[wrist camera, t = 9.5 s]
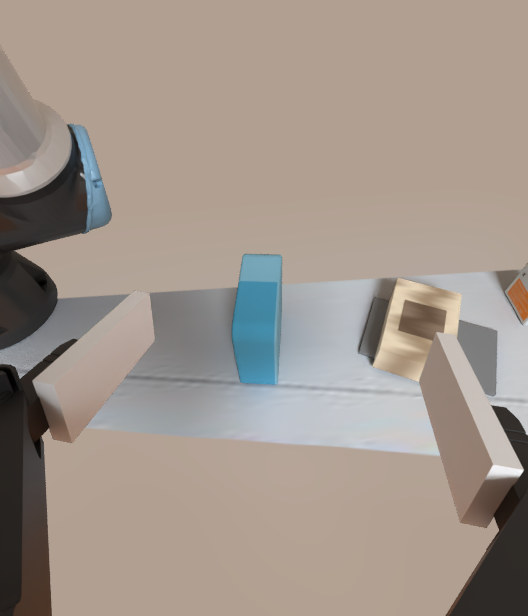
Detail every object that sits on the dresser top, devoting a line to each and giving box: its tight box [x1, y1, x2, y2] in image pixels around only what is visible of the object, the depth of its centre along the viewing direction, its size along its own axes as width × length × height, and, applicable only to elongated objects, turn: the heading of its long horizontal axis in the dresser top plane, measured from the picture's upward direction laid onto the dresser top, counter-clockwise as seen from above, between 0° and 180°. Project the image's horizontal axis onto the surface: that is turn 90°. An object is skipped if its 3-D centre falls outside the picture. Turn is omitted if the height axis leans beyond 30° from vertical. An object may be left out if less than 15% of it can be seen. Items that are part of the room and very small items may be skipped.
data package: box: [232, 254, 282, 385], centre depth 42 cm, size 12×4×12 cm, turn 176°
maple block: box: [373, 278, 461, 382], centre depth 45 cm, size 8×4×12 cm
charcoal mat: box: [359, 297, 497, 396], centre depth 46 cm, size 16×10×1 cm, turn 68°
